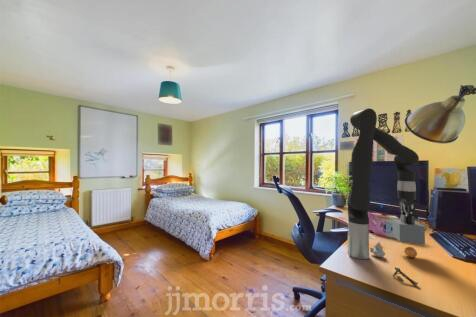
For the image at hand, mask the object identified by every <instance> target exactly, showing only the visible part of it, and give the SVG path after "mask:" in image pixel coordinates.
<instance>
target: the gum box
mask: <svg viewBox="0 0 476 317" xmlns="http://www.w3.org/2000/svg"><path fill="white" fill-rule="evenodd" d="M368 217H369V230H372V231H373V232H374V233H373V234H374V235H378V236H383V237H387V238H391V239H396V238H395V237H394V236H393V228H392V219H395V220H401V215H396V214H395V215H394V214H390V213H389V214H388V213H383V212H377V211H369V212H368ZM396 240H397V239H396Z"/></svg>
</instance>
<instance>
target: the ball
mask: <svg viewBox="0 0 476 317" xmlns="http://www.w3.org/2000/svg"><path fill="white" fill-rule="evenodd" d="M403 252H404V254H405V256H407V257H408V258H410V259H411V258H412V259H414V258H416V257H417V256H418V251H417V250H416V249H415V248H414V247H412V246H411V247H410V246H408V247H407V246H406V247H405V248H404V250H403Z"/></svg>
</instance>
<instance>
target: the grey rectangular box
mask: <svg viewBox="0 0 476 317" xmlns="http://www.w3.org/2000/svg"><path fill="white" fill-rule="evenodd" d="M400 216H401V220H395V219H392V228H393V236H394V237H395V238H396V240H397V241H398V242H400V243H408V244H415V245H426V230H425V228H426V226H424V225H423V224H421V223H419V222H418V221H416V220H415V219H416V218H415V216H413V217H412V224H407V223H406V215H402V213H401V214H400ZM395 238H394V239H395Z"/></svg>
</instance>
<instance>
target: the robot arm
mask: <svg viewBox="0 0 476 317" xmlns="http://www.w3.org/2000/svg"><path fill="white" fill-rule="evenodd" d="M349 119H350V120H349V121H350V124H351V125H352V127H353V128H355V129H356V130H358V131H359V132H358V133H359V134H358V137H357V140H356V142H355V145H354V147H353V149H352V151H351V160H350V168H351V170H350V171H351V176H352V177H351V178H352V184H351V190H350V193H349V194H348V196H347V215H348V216H347V218H348V219H347V220H348V226H347V227H348V228H347V229H348V232H347V253H348V256H349V257H352V258H355V259H357V260H369V258H370V232H369V215H368V213H369V206H370V204H371V196H370V179H371V174H372V167H373V166H372V165H373V150H374V142H375V143H377V144H378V145H379V146H380V147H382V148H383V149H384V150H385V152H387V153H388V154H389V155H393V156H394V157H393V162H394V165H395V169H396V171H397V185H396V186H397V190H396V191H397V192H396V194H397V198H398V199H400V200H399V201H398V206H399V212H400V213H401V214H402V215H406V223H407V224H412V217H415V215H416V214H415V213H416V205H414V204H413V201H414V200H416V199H417V188H416V187H417V186H416V174H415V173H416V172H415V171H414V170H412V169H410V168H409V167H408V166H414V165H417V164H418V163H419V160H420V158H419V157H420V156H419V155H418V152H416V151H414V150H413V149H412V148H410V147H407V146H406V145H403V144H402V143H401V142H400V141H399V140H398V139H397V138H395V136H393V135H391V134H390V133H387V132H386V131H383V130H381V129H380V128H378V127H376V126H377V121H378V117H377V113H376V111H375V110H374V109H373V108H368V107H367V108H364V109H363V110H362V109H361V110H359V111H356V112H353V114H351V116H350V118H349Z"/></svg>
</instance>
